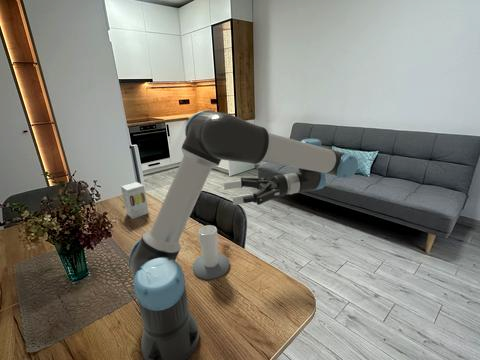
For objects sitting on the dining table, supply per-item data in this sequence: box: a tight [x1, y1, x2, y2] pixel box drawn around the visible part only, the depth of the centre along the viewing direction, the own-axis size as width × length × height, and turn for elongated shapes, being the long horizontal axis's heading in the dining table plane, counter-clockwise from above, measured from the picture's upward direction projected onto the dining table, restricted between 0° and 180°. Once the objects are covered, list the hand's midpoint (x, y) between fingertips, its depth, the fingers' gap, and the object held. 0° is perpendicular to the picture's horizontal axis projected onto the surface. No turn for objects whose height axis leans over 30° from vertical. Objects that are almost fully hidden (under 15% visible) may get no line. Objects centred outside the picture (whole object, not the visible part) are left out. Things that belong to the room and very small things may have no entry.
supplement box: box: [120, 181, 149, 220], centre depth 140 cm, size 10×9×17 cm
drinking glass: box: [198, 224, 219, 268], centre depth 95 cm, size 7×7×15 cm
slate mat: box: [192, 252, 230, 280], centre depth 98 cm, size 14×14×1 cm
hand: (228, 193), depth 89 cm, fingers open, 13 cm apart
